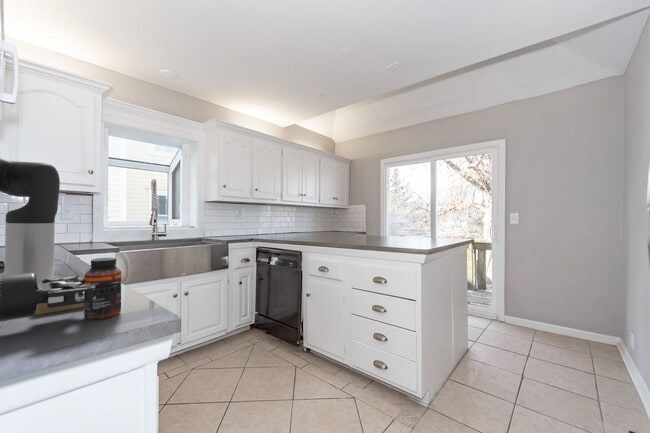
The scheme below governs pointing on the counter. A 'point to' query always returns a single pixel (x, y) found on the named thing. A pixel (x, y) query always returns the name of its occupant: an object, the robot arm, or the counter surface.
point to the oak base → (55, 308)
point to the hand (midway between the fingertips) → (114, 283)
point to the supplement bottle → (102, 274)
